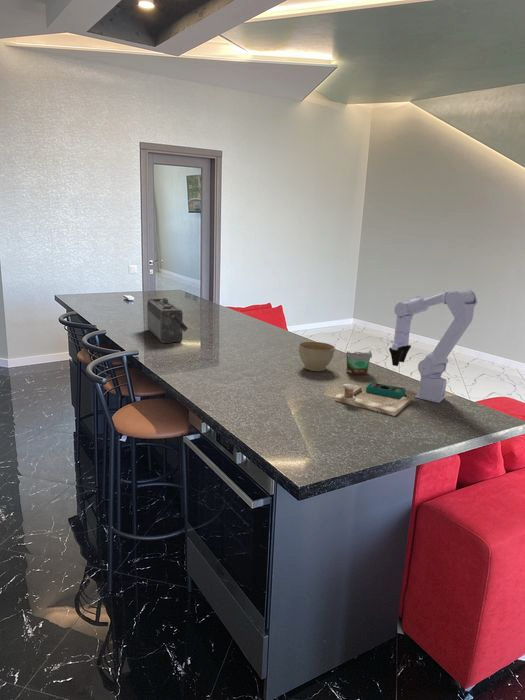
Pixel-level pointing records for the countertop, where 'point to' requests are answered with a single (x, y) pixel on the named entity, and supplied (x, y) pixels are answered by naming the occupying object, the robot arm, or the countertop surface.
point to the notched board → (350, 399)
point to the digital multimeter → (386, 390)
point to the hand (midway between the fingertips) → (398, 363)
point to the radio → (165, 320)
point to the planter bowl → (316, 355)
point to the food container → (358, 363)
